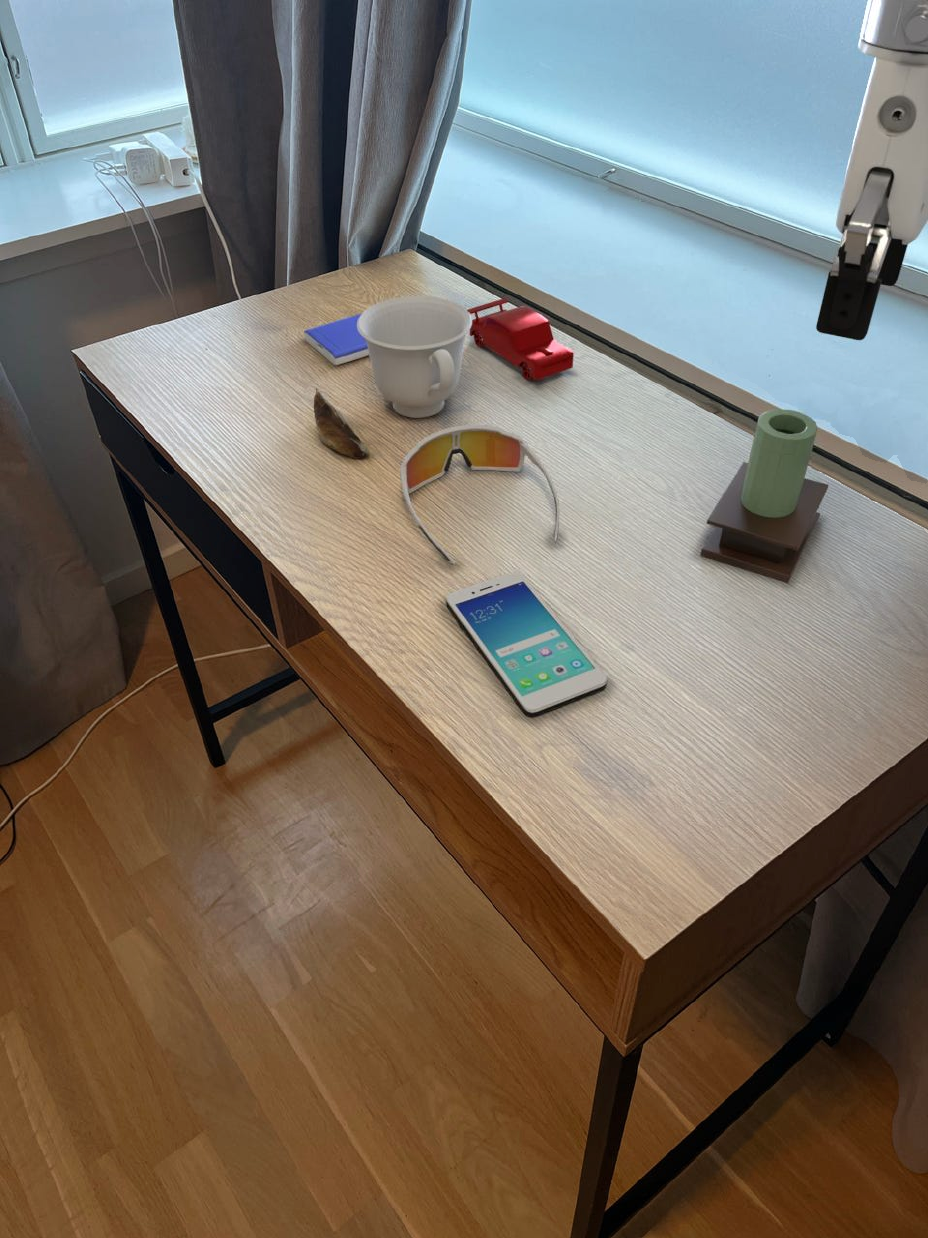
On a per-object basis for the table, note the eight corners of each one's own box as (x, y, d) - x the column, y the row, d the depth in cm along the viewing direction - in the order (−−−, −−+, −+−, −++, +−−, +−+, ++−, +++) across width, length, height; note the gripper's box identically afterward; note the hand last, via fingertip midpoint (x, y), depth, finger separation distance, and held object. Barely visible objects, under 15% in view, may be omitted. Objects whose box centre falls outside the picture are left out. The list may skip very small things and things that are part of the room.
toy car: (466, 341, 118) (466, 302, 115) (503, 328, 120) (504, 290, 117) (535, 388, 109) (536, 348, 106) (573, 374, 112) (576, 334, 108)
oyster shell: (357, 480, 104) (305, 407, 105) (384, 458, 103) (331, 385, 104) (338, 473, 98) (284, 395, 99) (367, 450, 98) (311, 372, 99)
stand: (818, 519, 91) (829, 484, 88) (788, 583, 84) (798, 547, 82) (735, 496, 94) (743, 461, 91) (700, 555, 87) (707, 520, 84)
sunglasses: (518, 451, 100) (522, 412, 96) (574, 553, 91) (581, 515, 87) (386, 477, 97) (384, 439, 93) (430, 586, 88) (430, 548, 84)
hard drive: (390, 302, 123) (303, 328, 118) (425, 326, 118) (335, 354, 113) (391, 314, 124) (305, 340, 119) (425, 338, 119) (336, 367, 114)
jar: (802, 495, 87) (823, 417, 82) (787, 523, 84) (808, 445, 78) (750, 480, 89) (767, 403, 83) (733, 508, 86) (751, 430, 80)
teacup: (397, 458, 99) (391, 370, 93) (349, 391, 109) (340, 307, 103) (502, 431, 103) (504, 344, 96) (447, 369, 113) (444, 286, 106)
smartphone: (527, 713, 72) (441, 594, 82) (527, 720, 73) (442, 602, 83) (611, 680, 75) (518, 569, 85) (610, 687, 75) (518, 576, 85)
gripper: (979, 60, 49) (886, 371, 60) (1021, 0, 60) (936, 272, 71) (829, 46, 52) (767, 345, 63) (895, -8, 63) (833, 254, 74)
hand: (857, 306), depth 67 cm, fingers open, 9 cm apart
